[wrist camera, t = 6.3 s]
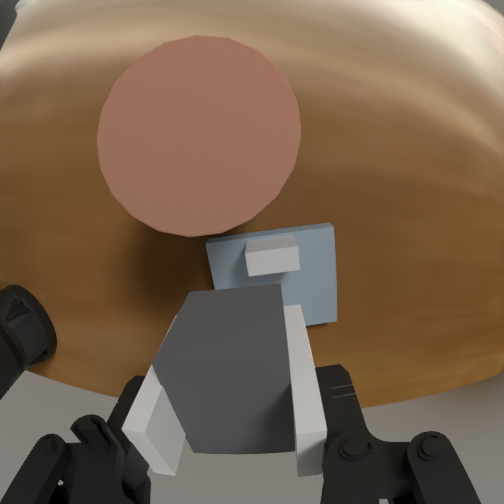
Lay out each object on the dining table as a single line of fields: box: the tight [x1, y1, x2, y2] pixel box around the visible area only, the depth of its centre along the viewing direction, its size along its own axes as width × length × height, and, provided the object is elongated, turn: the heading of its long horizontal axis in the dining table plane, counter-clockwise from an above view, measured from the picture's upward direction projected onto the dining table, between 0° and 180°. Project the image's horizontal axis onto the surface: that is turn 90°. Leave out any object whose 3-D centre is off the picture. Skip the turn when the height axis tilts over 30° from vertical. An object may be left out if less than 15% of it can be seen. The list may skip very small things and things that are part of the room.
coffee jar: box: [97, 35, 302, 237], centre depth 21 cm, size 11×11×18 cm
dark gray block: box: [152, 283, 295, 454], centre depth 11 cm, size 4×5×5 cm
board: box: [205, 223, 337, 326], centre depth 31 cm, size 14×12×6 cm
